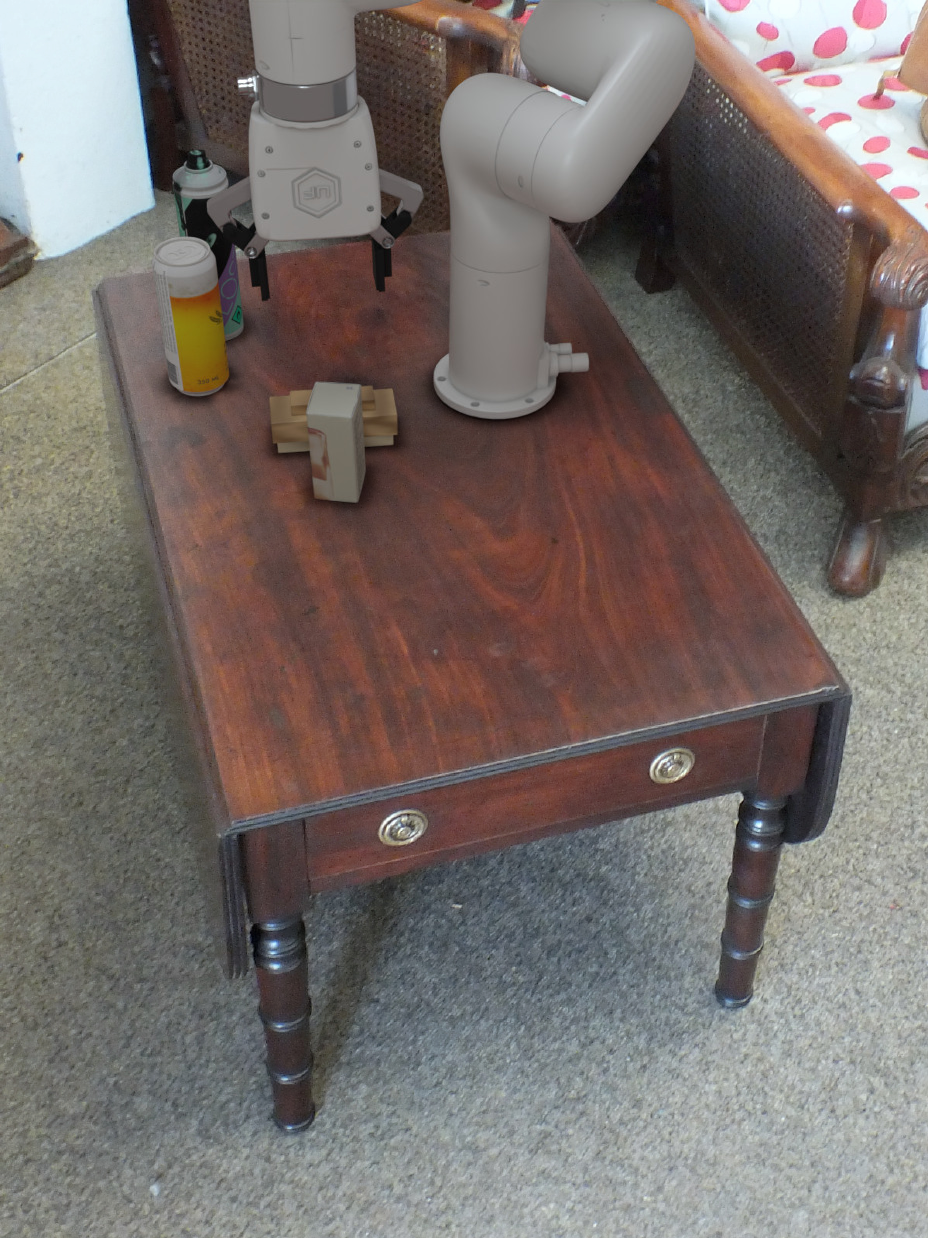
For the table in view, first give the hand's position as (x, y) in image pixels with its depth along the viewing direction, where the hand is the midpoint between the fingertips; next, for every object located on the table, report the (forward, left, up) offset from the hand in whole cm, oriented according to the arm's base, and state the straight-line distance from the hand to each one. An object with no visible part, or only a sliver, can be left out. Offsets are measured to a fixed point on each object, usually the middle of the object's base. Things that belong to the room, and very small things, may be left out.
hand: (322, 287), depth 116 cm
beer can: (+12, -18, -21) cm, 30 cm away
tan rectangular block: (-1, -7, -21) cm, 22 cm away
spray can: (+10, -28, -21) cm, 36 cm away
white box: (0, +1, -21) cm, 21 cm away
